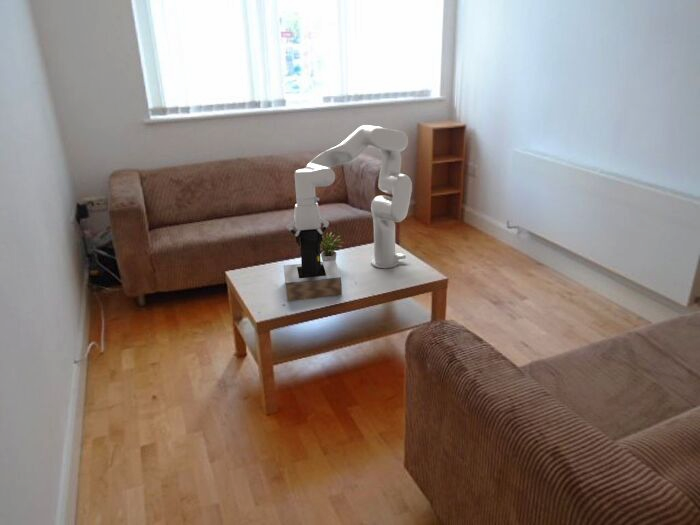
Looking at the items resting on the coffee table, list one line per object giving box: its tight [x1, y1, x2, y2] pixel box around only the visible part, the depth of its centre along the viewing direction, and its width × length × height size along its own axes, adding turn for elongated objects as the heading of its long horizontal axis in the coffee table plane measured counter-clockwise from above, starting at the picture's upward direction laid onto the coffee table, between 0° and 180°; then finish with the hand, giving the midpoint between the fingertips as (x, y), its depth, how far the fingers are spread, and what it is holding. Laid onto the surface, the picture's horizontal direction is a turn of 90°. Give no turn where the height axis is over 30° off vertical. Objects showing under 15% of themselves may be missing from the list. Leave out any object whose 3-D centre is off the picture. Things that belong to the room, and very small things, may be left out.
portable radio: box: [299, 229, 322, 278], centre depth 210 cm, size 8×6×25 cm
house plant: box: [320, 231, 346, 263], centre depth 233 cm, size 14×14×16 cm
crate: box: [283, 260, 343, 302], centre depth 214 cm, size 22×18×8 cm
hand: (309, 243), depth 208 cm, fingers closed on portable radio, 7 cm apart
